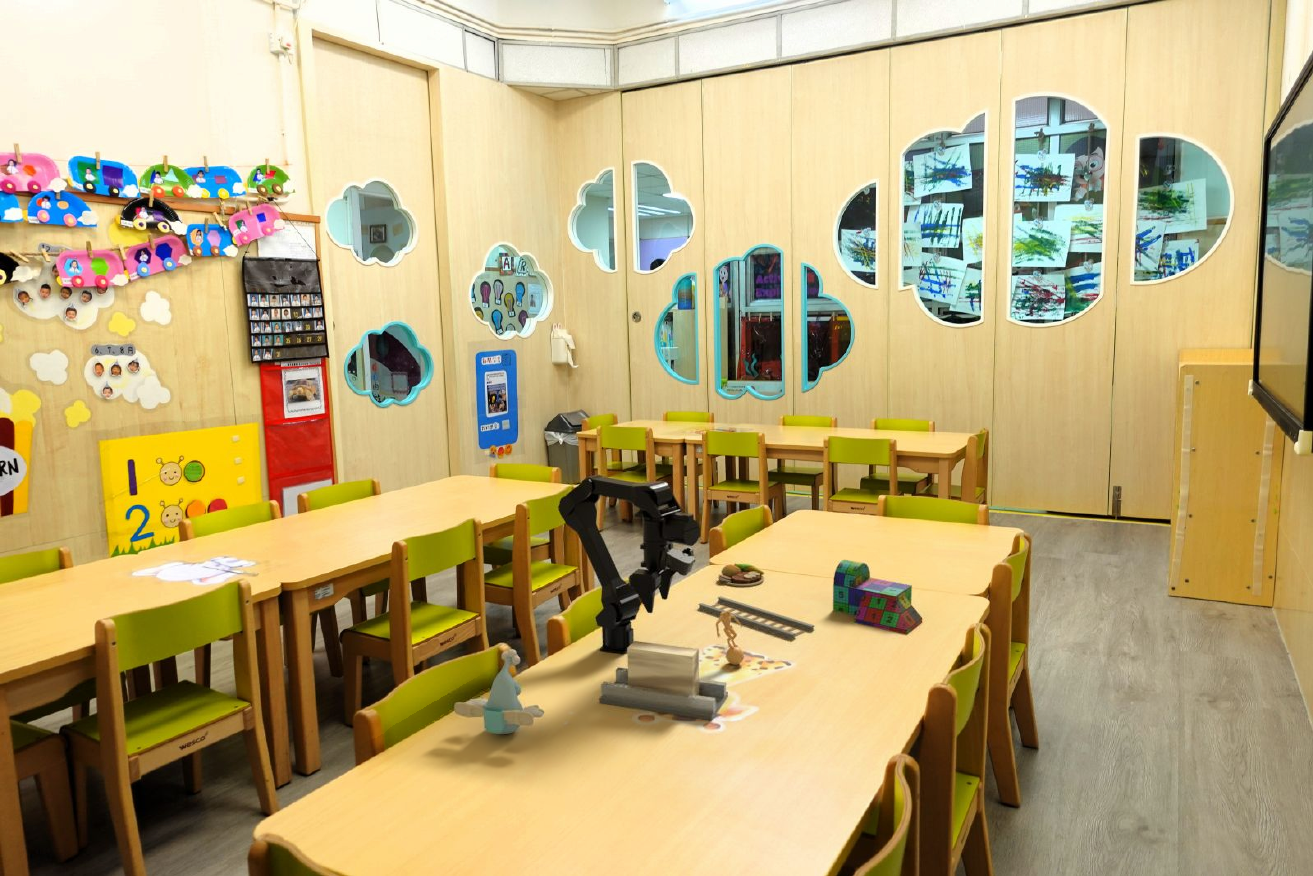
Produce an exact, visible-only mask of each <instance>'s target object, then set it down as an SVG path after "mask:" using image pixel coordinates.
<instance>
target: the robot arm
mask: <svg viewBox="0 0 1313 876" xmlns="http://www.w3.org/2000/svg"><path fill="white" fill-rule="evenodd" d="M602 496H603V497H607V498H611V499H617V500H621V501H622V500H623V501H626V502H629V503H631V504H632V505H633V506H634V507H635V508H638V509H639V510H638V511H637V512H636V513H634V517H635V518H638V519H642V543H641V544H640V545H639V549H640V550H642V551H643V561H641V562H640V568H638V569H636V570H634V572H632V573H631V574H630V575H629V576H628V582H626V581H625V580H624V579H623V578H622V577H621V575H620V573H619V571H618V569H617V567H616V564H615V562H614V560H613V558H612V555H611V553H610V551H609V548H608V547H607V545H606V543H605V540H604V538H603V536H602V533H601V532H600V529H599V527H598V525H597V518H598V516H597V515H598V509H597V508H596V504H597V503H598V502H599V500H600V499H601V497H602ZM557 509H558V512H559V514H560V516H561V518H562V519H563V521H564V522H565V524H566V525H567V526H568V527H570V528H571V529H572V530H573V531H575V532H576V533H577V536H578V537H579V539H580V542H581V544H582V546H583V549H584V551H585V554H586V555H587V557H588V560H589V562H590V564H591V566H592V569H593V571H594V573H595V575H596V577H597V579H598V581H599V583H600V587H601V599H600V601H601V604H602V609H601V611H599V612H598V613H597V614H596V616H595V622H596V625H597V626H598V627H600V628H601V629H602V630H601V634H602V635H601V636H602V646H601V647H600V648H599V651H601V652H602V651H603V652H609V653H614V654H615V653H616V654H627V648H628V647H629V646H630V645H631V644H632V643H633V642H634V641H635V640H634V639H635V638H634V637H635V636H634V635H635V634H634V628H632V621H635V620H637V619H636V618H637V615H638V613H639V611H640V609H641V605H642V604H643V607H644V609H645V610H646V612H647V614H652V613H653V612H654V607H655V599H656V598H655V597H656V591H657V590H658V591H659V594H660V597H661V599H662V600H665V601H666V600H667V599H668V597H669V592H670V588H671V584H672V581H673V578H674V575H675V574H676V573H678V574H679V575H680V576H687V575H688V574H689V573H690V572H691V571H692V568H693V566H694V564H695V562H696V556H695V555H694V549H693V548H692V547H693V546H694V545H696V544H697V542H698V541H699V538H700V534H701V528H700V525H699V523H698V521H697V520H695V517H694V516H695V514H693V513H683V508H682V507H681V506H680V503H679V502H678V500H677V498H676V497H675V495H674V493H673V491H672V489H671V487H670V486H669V483H668V482H666V481H663V480H658V481H646V482H634V481H629V480H628V481H627V480H623V479H619V478H614V477H607V476H603V475H601V474H596V475H592V476H591V475H590V476H587V477H585V478H584V479H583V480H582V481H581V482H580V483H579V484H578V485H577V486H576V487H575V488H573V489H571V490H570V491H569V492H568V493H567V494H566V495H565V496H564V495H563V496H562V497H561V498H560V499H559V503H558V506H557ZM674 544H678V545H684V546H686V547H685V548H684V549H683V550H682V551H681V549H676V548H674ZM642 568H645V569H642ZM641 603H642V604H641Z"/></svg>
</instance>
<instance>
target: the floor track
mask: <svg viewBox="0 0 1313 876" xmlns="http://www.w3.org/2000/svg"><path fill="white" fill-rule="evenodd" d="M600 685H601V686H600V688H601V689H600V690H601V696H600V697H599V698H598V699H599V701H598V703H599V704H603V705H612V706H617V707H624V708H630V709H636V710H643V711H648V712H655V713H662V714H667V715H675V716H679V717H688V718H693V719H699V720H706V721H713V720H714V718H715V716H716V715H717V714H718V712H719V710H721V707H722V706H723V704H724V703H725V702H726V700H727V699H728V696H729V695H728V694H729V693H728V691H727V682H724V681H717V680H711V679H703V678H699V696H698V695H691V694H684V693H678V692H671V691H664V690H657V689H651V688H644V687H637V686H630V685H628V668H626V667H617V668H616V669H615V681H614V682H609V681H603V682H602V683H601V684H600Z"/></svg>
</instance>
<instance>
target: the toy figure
mask: <svg viewBox="0 0 1313 876" xmlns="http://www.w3.org/2000/svg"><path fill="white" fill-rule="evenodd" d="M501 660H503V661H504V665H503V666H502V668H501V670H500V671H499V672H498V673H497V675H496V676H495V677H494V680H493V683H492V685H491V689H490V692H489V697H488V700H487V698H485V697H483V696H482V697H481V698H470V699H469V700H468V701H465V702H460V701H458V702H455V703H454V705H453V706H454V707H453V708H454V709H453V711H454V713H455V714H456V715H457V716H461V717H467V718H481V717H483V725H484V729H485V731H486V732H487V733H490V734H495V735H496V734H497V735H498V734H500V735H509V734H512V733H514V732H515V731H517V730H519V728H520V727H521V726H528V727H529V726H532V725H533V724H534V720H535V719H534V718H537V719H538V718H542V717H543V715H544V714H545V710H544V709H542V708H540V706H539V705H537V704H534V705H533V704H532V705H529V706H524V707H523V705H522V703H521V701H520V699H518V697H519V696H520V695H521V693H522V691H521V690H522V687H521V685H520V683H519V682H518V681H516V680H515V679H514V678H513V676H512V674H511V673H510V670H509V667H513V666H517V665H519V664H520V663H521V657H519V655H518V654H517V651H516V650H515V649H513V648H512V649H509V650H508V651H503V652H502V653H501Z"/></svg>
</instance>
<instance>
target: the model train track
mask: <svg viewBox="0 0 1313 876" xmlns="http://www.w3.org/2000/svg"><path fill="white" fill-rule="evenodd" d="M717 599H718V600H717V603H715V604H713V605H709V604H706V603H702V602H700V603H698V606H699V607H698V610H697V612H699V613H703V612H705V614H706V615H709V616H710V615H713V617H715V618H720V613H722V612H727V611H729V612H730V614H731V615H733V616H735V618H736V619H737V620H738V621H739V622H740V624H741V626H742V627H743V626H745V625H746V628H747V629H753V628H754V629H755V632H762V631H764V634H765V635H771V634H773V637H774V638H779V637H781V638H782V640H783V641H789V640H791V641H794V640H796V638H797V637H798V636H800V635H803V634H805V633H808V632H811V633H812V632H814V631H815V625H814V624H811V623H808V622H805V621H802V620H797V619H795V618H791V617H788V616H785V615H781V614H779V613H777V612H776V613H775V612H772V611H769V610H765V609H762V608H761V607H755V606H753V605H750V604H747V603H743V602H739V601H737V600H733V599H730V598H727V597H724V596H721V595H720V596H718V597H717ZM721 605H724V606H722V607H720V606H721ZM718 606H719V607H720V608H719V607H718ZM730 607H731V609H728V608H730ZM725 609H728V610H725ZM736 610H741V611H737V612H735V611H736ZM747 612H748V614H745V615H741V614H744V613H747ZM755 615H756V616H755ZM757 615H758V616H757ZM752 616H755V617H753V618H750V617H752ZM762 618H765V619H763V620H761V621H759V619H762ZM772 620H773V621H774V622H772V623H770V624H767V622H771V621H772ZM730 623H732V624H734V623H737V622H736V621H735V619H734V618H731V622H730ZM780 623H782V624H781V625H779V626H777V627H776V625H778V624H780ZM737 624H738V625H739V626H740V624H739V623H737ZM741 626H740V627H741ZM789 626H793V627H791V628H789V629H784V628H787V627H789ZM798 629H801V630H800V631H798V632H793V631H796V630H798Z"/></svg>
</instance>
